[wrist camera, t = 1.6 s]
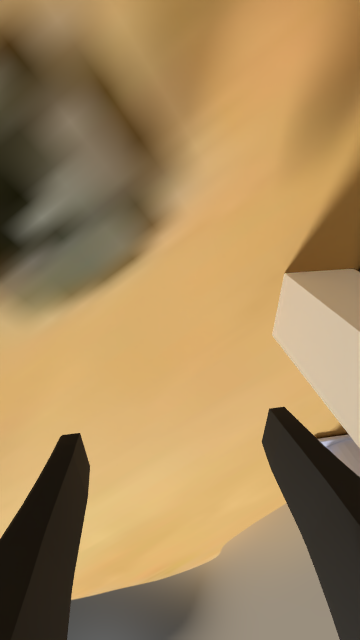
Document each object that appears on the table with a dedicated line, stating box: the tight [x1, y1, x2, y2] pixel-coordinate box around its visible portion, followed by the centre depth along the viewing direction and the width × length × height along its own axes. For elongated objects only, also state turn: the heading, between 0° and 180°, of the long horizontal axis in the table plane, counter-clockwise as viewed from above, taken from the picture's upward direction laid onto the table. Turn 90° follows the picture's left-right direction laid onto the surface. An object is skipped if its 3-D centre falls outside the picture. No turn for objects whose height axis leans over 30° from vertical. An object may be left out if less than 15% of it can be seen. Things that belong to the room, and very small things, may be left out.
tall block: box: [272, 269, 360, 448], centre depth 16 cm, size 5×5×10 cm
